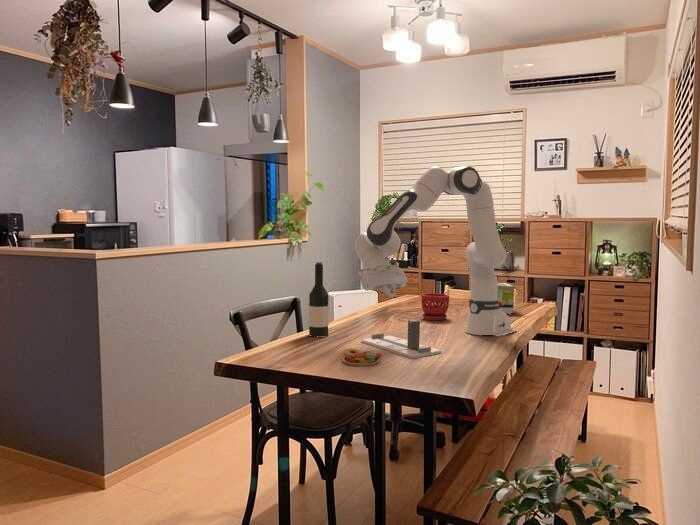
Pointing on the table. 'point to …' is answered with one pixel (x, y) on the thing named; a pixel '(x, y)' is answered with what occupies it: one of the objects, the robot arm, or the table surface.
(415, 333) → the fader tab
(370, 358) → the toy food set
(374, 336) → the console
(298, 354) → the table surface
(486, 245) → the robot arm
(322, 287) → the wine bottle
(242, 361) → the table surface
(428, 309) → the plant pot
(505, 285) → the tea box
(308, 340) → the table surface
